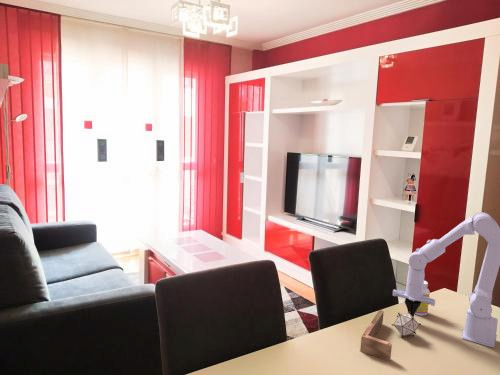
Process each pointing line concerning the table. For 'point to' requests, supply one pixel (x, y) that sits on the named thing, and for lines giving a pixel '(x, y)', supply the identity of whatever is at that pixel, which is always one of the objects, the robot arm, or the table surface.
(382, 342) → the l-shaped bracket
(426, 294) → the supplement bottle
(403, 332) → the game die
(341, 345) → the table surface
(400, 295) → the robot arm
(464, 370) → the table surface
